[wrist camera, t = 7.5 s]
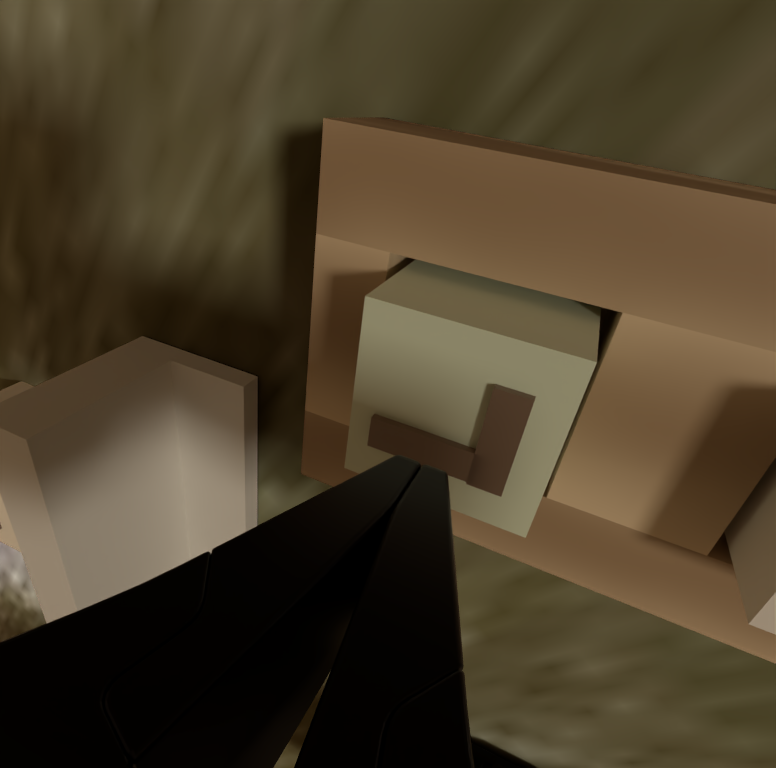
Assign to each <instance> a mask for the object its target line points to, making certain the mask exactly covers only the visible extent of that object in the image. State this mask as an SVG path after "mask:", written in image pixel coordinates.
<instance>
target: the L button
mask: <svg viewBox="0 0 776 768" xmlns="http://www.w3.org/2000/svg"><path fill="white" fill-rule="evenodd" d="M600 315H601V307H599V306H595V305H591V304H587V303H583V302H579V301H576V300H572V299H568V298H564V297H560V296H556V295H552V294H548V293H545V292H541V291H537V290H533V289H529V288H525V287H521V286H517V285H514V284H510V283H506V282H502V281H498V280H494V279H490V278H486V277H483V276H479V275H475V274H471V273H467V272H463V271H459V270H455V269H452V268H448V267H444V266H440V265H436V264H432V263H428V262H424V261H421V260H417V259H416V260H414V261H413V262H412V263H410V264H409V265H407V266H406V267H405V268H403V269H402V270H400V271H399V272H398V273H396V274H395V275H393V276H392V277H391V278H389V279H388V280H387V281H385V282H384V283H382V284H381V285H380V286H378V287H377V288H375V289H374V290H373V291H371V292H370V293H369V294H367V295H366V296H365V301H364V309H363V317H362V326H361V334H360V342H359V350H358V359H357V367H356V375H355V383H354V392H353V400H352V408H351V416H350V425H349V433H348V441H347V449H346V458H345V466H344V468H346V469H349V470H351V471H354V472H356V473H359V474H360V473H362V472H364V471H366V470H367V469H369V468H371V467H373V466H375V465H377V464H379V463H381V462H383V461H385V460H387V459H389V458H391V457H393V456H395V455H402V456H405V457H408V458H411V459H413V460H416V461H418V462H420V464H421V466H423V465H430V466H432V467H435V468H438V469H440V470H443V471H445V472H446V473H447V474H448V480H449V493H450V505H451V509H452V510H455V511H457V512H460V513H462V514H465V515H467V516H470V517H473V518H475V519H478V520H480V521H483V522H486V523H488V524H491V525H493V526H496V527H499V528H501V529H504V530H506V531H509V532H511V533H514V534H517V535H519V536H522V537H524V538H526V536H527V533H528V531H529V528H530V526H531V524H532V521H533V519H534V516H535V514H536V511H537V509H538V506H539V504H540V501H541V499H542V496H543V494H544V492H545V489H546V487H547V484H548V482H549V479H550V477H551V474H552V472H553V469H554V467H555V464H556V462H557V460H558V457H559V455H560V452H561V450H562V447H563V445H564V442H565V440H566V437H567V435H568V432H569V430H570V427H571V425H572V423H573V420H574V418H575V415H576V413H577V410H578V408H579V405H580V403H581V400H582V398H583V395H584V393H585V391H586V388H587V386H588V383H589V381H590V378H591V376H592V373H593V371H594V368H595V366H596V363H597V355H598V342H599V329H600Z"/></svg>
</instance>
